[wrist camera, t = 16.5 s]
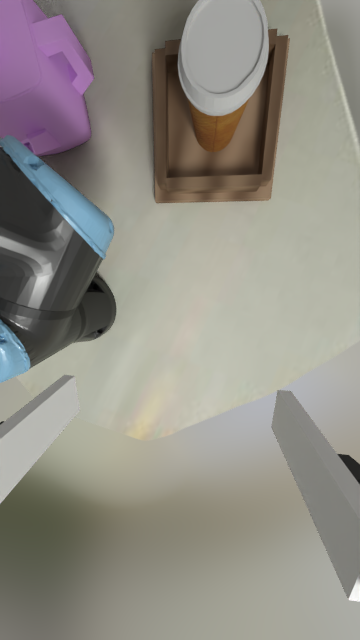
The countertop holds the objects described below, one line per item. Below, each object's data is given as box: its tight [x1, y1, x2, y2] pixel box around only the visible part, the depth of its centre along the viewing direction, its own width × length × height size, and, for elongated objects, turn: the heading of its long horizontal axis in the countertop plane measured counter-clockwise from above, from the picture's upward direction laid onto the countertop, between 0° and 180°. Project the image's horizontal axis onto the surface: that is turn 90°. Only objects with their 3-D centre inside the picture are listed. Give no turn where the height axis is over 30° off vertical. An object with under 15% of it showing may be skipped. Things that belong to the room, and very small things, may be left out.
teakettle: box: [0, 0, 94, 156], centre depth 28 cm, size 17×17×12 cm
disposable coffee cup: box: [178, 0, 269, 152], centre depth 25 cm, size 10×10×12 cm
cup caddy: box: [152, 29, 290, 203], centre depth 30 cm, size 20×20×4 cm
